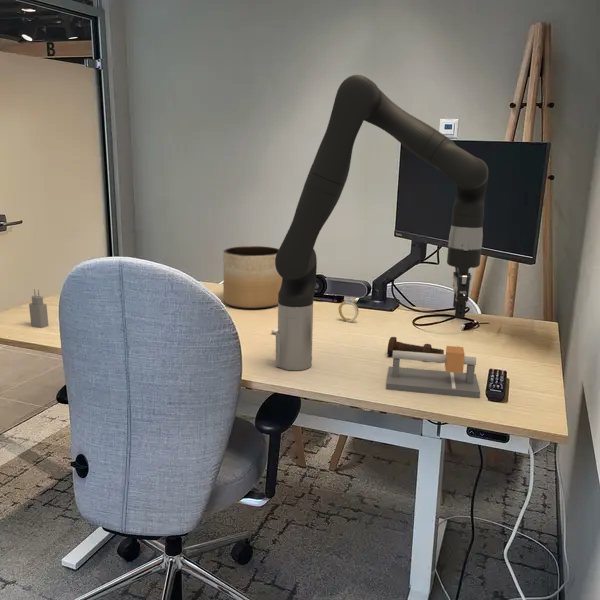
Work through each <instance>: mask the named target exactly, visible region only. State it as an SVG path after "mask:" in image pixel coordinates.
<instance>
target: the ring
mask: <svg viewBox="0 0 600 600" xmlns="http://www.w3.org/2000/svg"><path fill="white" fill-rule="evenodd" d="M345 305H352V307H353V308H354V311H355V314H354V317H353V318H346V317H345V316H344V314H343V310H342V309H343V306H345ZM338 313H339V315H340V318H341V319H343V321H345V322H347V323H350V322H352V321H355V320H356V319H357V318H358V315H359V307H358V305H357V304H356V303H355V300H354V299H352V298H345V300H344V301H342V302H341V303H340V304H339V306H338Z"/></svg>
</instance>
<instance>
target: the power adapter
mask: <svg viewBox="0 0 600 600" xmlns="http://www.w3.org/2000/svg"><path fill="white" fill-rule="evenodd" d="M33 291H34V292H33V294H34V295H31V303H28V304H29V305H28V307H29V308H28V309H29V317H30V326H31V327H34V328H38V329H44V328H47V327H49V316H48V315H49V314H48V308H47V307H48V305H47V303H44V299H43V298H44V296H42V295H40V291H39V289H37V294H36V289H35V288H34V289H33Z"/></svg>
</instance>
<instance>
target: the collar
mask: <svg viewBox="0 0 600 600" xmlns="http://www.w3.org/2000/svg"><path fill="white" fill-rule="evenodd" d="M445 350H446V351H445V355H447V360H446V363H444V368H445V371H446V372H453V373H464V365H465V364H464V356H466V353H465V349H464V347H463V346H454V345H452V346H451V345H446V349H445Z"/></svg>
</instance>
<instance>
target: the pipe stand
mask: <svg viewBox="0 0 600 600" xmlns="http://www.w3.org/2000/svg"><path fill="white" fill-rule="evenodd" d="M391 357H392V358H391V359H392V366H388V368H387V369H388V370H387V374H386V375H387V376H386V381H385V390H389V391H401V392H411V393H421V394H422V393H423V394H433V395H443V396H444V395H445V396H453V397H454V396H456V397H463V398H474V399H475V398H477V399H480V398H481V390H480V386H479V382H478V378H477V374H476V373H475V370H476V369H475V368H476V367H475V366H477V357H476V356H471V355H470V356H469V355H464V365H466V372H463V373H453V372H446V370H444V371H443V370H434V369H424V368H422V369H421V368H410V367H401V366H400V365H401V364H400V362H401V360H409V361H419V362H420V361H421V362H431V363H433V362H434V363H444V364H445V363H446V360H447V355H446V353H444V354H432V353H420V352H408V351H395V350H393V356H391Z"/></svg>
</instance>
